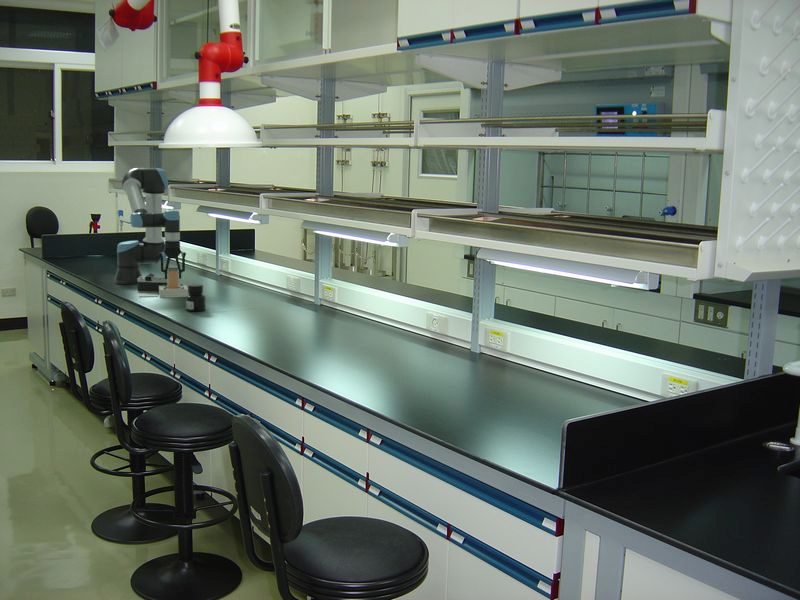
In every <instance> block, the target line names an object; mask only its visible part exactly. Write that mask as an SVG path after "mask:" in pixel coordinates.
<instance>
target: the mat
mask: <svg viewBox="0 0 800 600" xmlns="http://www.w3.org/2000/svg"><path fill="white" fill-rule="evenodd" d="M158 295H159V294H158V293H147V292H141V293H138V298H154V297H155V298H158Z"/></svg>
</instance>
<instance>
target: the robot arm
mask: <svg viewBox="0 0 800 600" xmlns="http://www.w3.org/2000/svg"><path fill="white" fill-rule="evenodd" d="M121 187H122V189H123V191H124V192H125V194H126V197H127V199H128V202H129V206H130V209H131V213H130V218H129V219H130V220H129V221H130V226H131V227H132V228H139V229H142V228H145V237H144V238H143V239H142V242H140V241H139V240H127V241H122V242H119V243H118V244H117V248H116V253H117V270H116V273H115V277H114V283H115V284H118V285H137V278H139V276H142V278H144V277H143V275H142V273H141V269H140V265H141V264H143V265H144V264H146V265H147V264H160V271H161V273H164V277H165V279H167V286H169V273H168V268H169V266H170V261H171V259H173V260H174V259H175V263H176V268H178V286H179V285H180V280H182V273H184V272H185V270H186V256H187V253H186V252H185V251H184V252H183V251H182V250H181V241H180V240H181V232H180V231H181V230H180V229H181V227H180V226H181V223H180V220H181V217H180V211H179V210H177V209H176V210H175V209H167V210H165V211H164V212H162V211H163V210H162V207H163V204H162V203H163V199H162V198H163V195H164V194H165V193H166V190H168V189H169V179H168V175H167V172H166V171H165V169H163V168H159V167H158V168H157V167H134V168H131V169H129V170H128V171H127V172H126V173H125V174H124V176H123V178H122V180H121ZM143 194H144V195H145V199H144V195H143ZM162 228H164V238H163V237H162ZM180 255H181V257H182V258H181V259H182V261H181V264H180V260H179V256H180ZM166 259H167V260H166ZM165 261H166V264H165V267H164V262H165ZM181 265H182V266H181Z"/></svg>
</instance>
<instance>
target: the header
mask: <svg viewBox="0 0 800 600" xmlns="http://www.w3.org/2000/svg"><path fill="white" fill-rule="evenodd" d="M188 294H189V293H188V285H187V284H183V283H181V284H180V283H179V286H178V288H175V289H169V286H167V285H165V284H163V286H159V293H158V295H159V298H186V296H187V295H188Z"/></svg>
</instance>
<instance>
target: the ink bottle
mask: <svg viewBox="0 0 800 600" xmlns="http://www.w3.org/2000/svg"><path fill="white" fill-rule="evenodd" d="M187 288H188V295H187V296H186V297H185V310H186V311H187V312H191V313H193V312H195V313H196V312H204V311H206V296H205V295H204V294H203V293H204V285H203V284H201V283H200V284H198V283H196V284H195V283H192V284H188V285H187Z"/></svg>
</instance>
